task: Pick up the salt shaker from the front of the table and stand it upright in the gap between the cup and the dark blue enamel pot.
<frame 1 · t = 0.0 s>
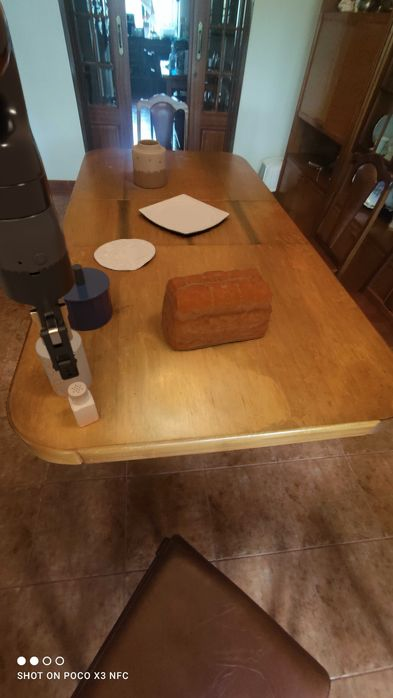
hand: (65, 354, 44), 23 cm above the table, tool pointing down, fingers open, 8 cm apart
plate: (184, 218, 128), on the table
pot: (87, 314, 84), on the table
pot lid: (80, 284, 77), point 9 cm above the table, touching pot
vase: (150, 183, 152), on the table
bread: (213, 328, 84), on the table
plaque: (125, 254, 106), on the table
salt shaker: (87, 417, 63), on the table
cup: (72, 382, 69), on the table
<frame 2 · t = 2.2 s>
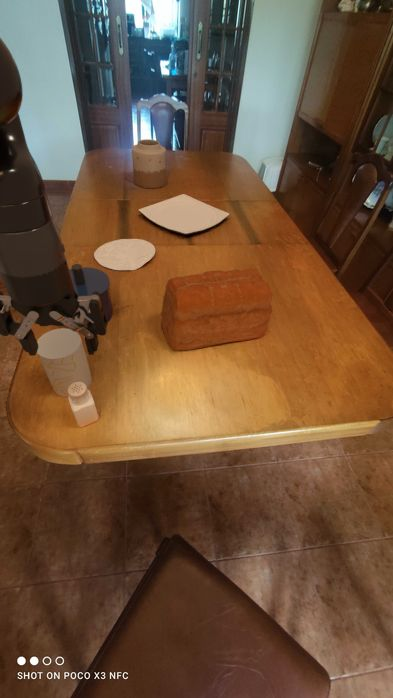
hand: (63, 351, 49), 20 cm above the table, tool pointing down, fingers open, 8 cm apart
nothing on the table moved.
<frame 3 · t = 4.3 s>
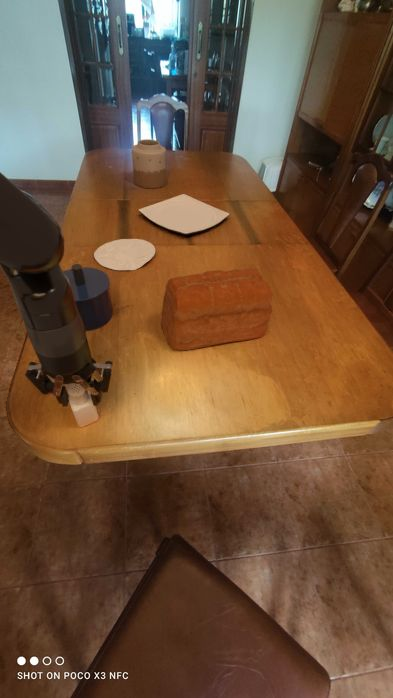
hand: (81, 401, 59), 5 cm above the table, tool pointing down, fingers closed on salt shaker, 5 cm apart
salt shaker: (87, 417, 63), on the table, touching gripper
everything else where it was.
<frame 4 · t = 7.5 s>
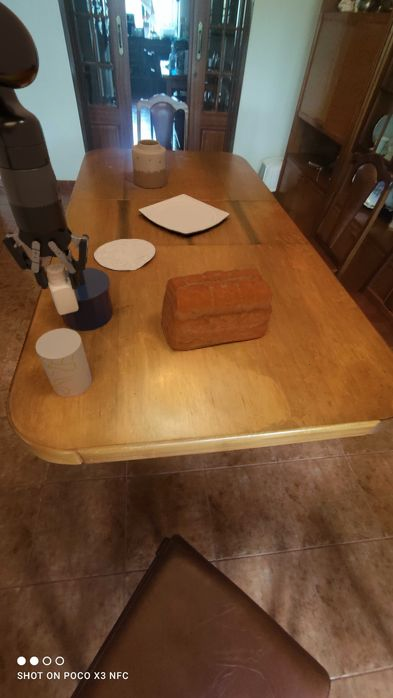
hand: (60, 286, 61), 19 cm above the table, tool pointing down, fingers closed on salt shaker, 5 cm apart
salt shaker: (67, 309, 65), point 13 cm above the table, touching gripper
everything else where it was.
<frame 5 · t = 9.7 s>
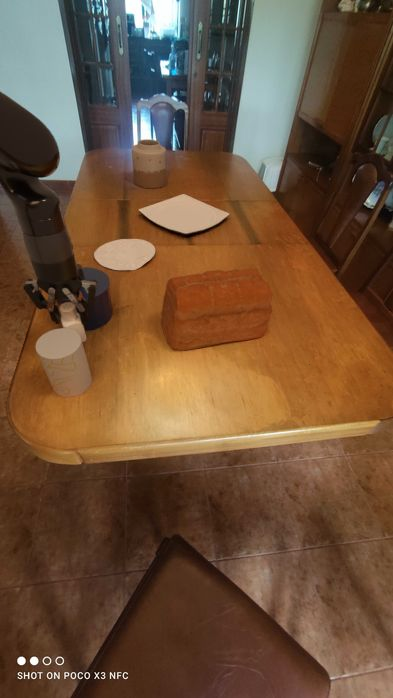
hand: (71, 321, 69), 9 cm above the table, tool pointing down, fingers closed on salt shaker, 5 cm apart
salt shaker: (76, 339, 73), point 3 cm above the table, touching gripper
everything else where it was.
when the fingers open (5 cm above the table, at t = 11.0 s): salt shaker stays where it is, on the table.
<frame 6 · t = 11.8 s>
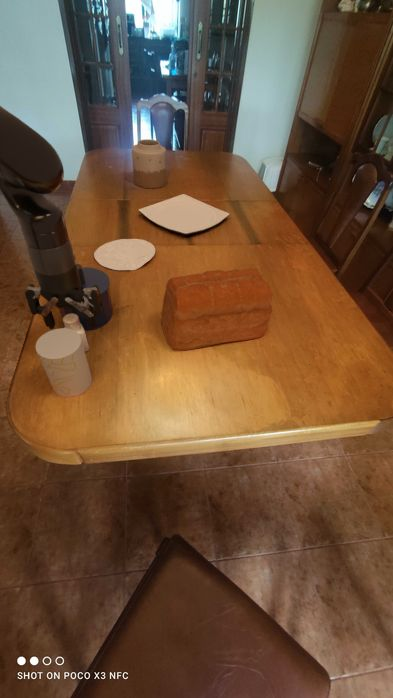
hand: (73, 326, 71), 7 cm above the table, tool pointing down, fingers open, 8 cm apart
salt shaker: (79, 348, 76), on the table
everything else where it was.
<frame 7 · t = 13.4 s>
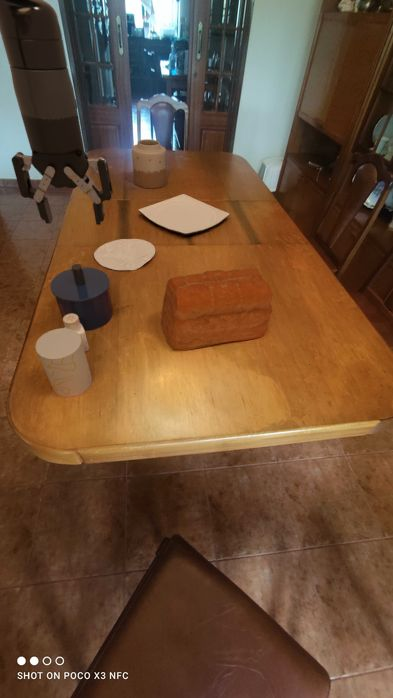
hand: (74, 222, 56), 30 cm above the table, tool pointing down, fingers open, 8 cm apart
nothing on the table moved.
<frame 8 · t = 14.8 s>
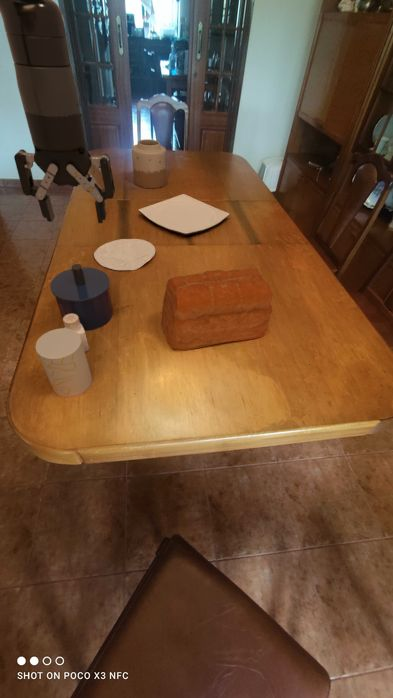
hand: (76, 220, 56), 30 cm above the table, tool pointing down, fingers open, 8 cm apart
nothing on the table moved.
at the end: salt shaker 0.1 cm from the target spot on the table beside the pot, on the table; salt shaker tilted 0°; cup moved 0.2 cm from its start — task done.
